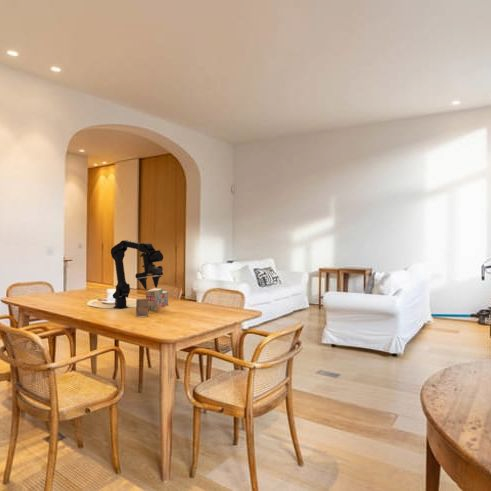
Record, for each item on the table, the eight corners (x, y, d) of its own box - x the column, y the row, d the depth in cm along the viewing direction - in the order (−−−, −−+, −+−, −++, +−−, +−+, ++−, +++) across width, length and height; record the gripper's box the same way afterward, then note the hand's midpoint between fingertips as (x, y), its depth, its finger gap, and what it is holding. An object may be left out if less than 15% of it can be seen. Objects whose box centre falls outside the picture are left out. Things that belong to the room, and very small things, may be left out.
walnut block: (136, 316, 228) (136, 298, 227) (144, 315, 231) (144, 298, 230) (139, 317, 224) (139, 300, 223) (147, 316, 227) (148, 299, 227)
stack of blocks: (159, 304, 268) (159, 286, 267) (168, 304, 266) (168, 286, 266) (145, 310, 247) (145, 290, 246) (154, 310, 245) (155, 291, 245)
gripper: (147, 262, 229) (150, 288, 228) (168, 261, 245) (171, 285, 244) (133, 264, 234) (136, 290, 233) (154, 263, 250) (157, 287, 250)
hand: (151, 288), depth 240 cm, fingers open, 9 cm apart
